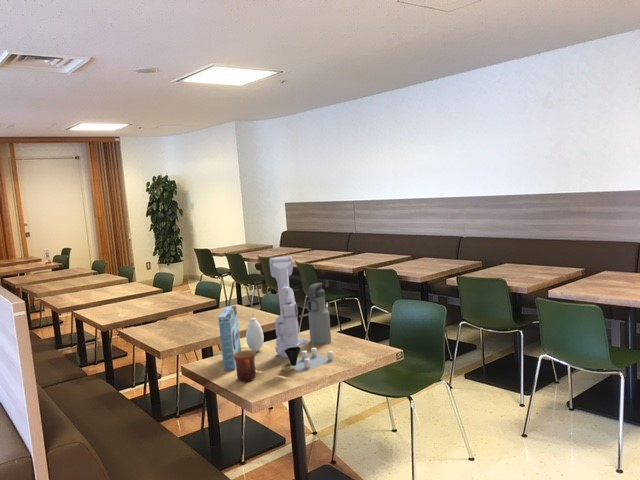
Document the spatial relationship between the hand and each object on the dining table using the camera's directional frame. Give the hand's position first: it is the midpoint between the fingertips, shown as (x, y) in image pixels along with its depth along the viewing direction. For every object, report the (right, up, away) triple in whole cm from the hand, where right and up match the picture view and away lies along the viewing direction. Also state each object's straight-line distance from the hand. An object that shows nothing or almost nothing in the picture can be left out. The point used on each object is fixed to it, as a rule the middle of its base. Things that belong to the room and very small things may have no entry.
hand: (293, 365), depth 210 cm
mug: (-18, -4, -8) cm, 20 cm away
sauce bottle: (-19, -1, +29) cm, 34 cm away
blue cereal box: (-27, -3, +15) cm, 31 cm away
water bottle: (+11, +2, +33) cm, 35 cm away
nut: (-2, -2, -1) cm, 3 cm away
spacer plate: (+6, -1, +5) cm, 8 cm away
